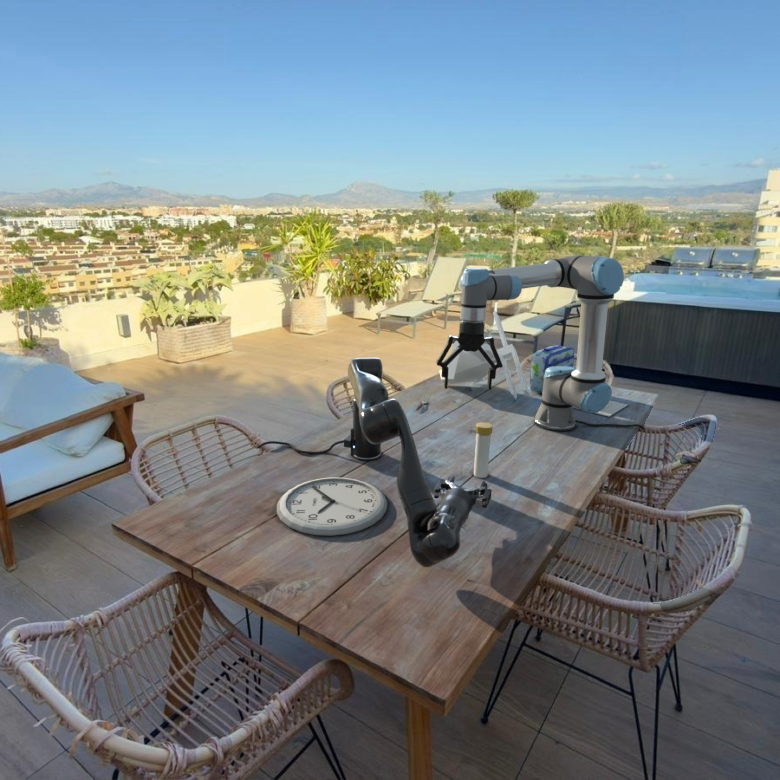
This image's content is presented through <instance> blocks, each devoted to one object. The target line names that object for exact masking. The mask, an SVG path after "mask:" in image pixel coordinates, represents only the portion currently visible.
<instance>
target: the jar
mask: <svg viewBox="0 0 780 780" xmlns="http://www.w3.org/2000/svg"><path fill="white" fill-rule="evenodd" d="M491 435H492V433H491V434H490V435H480V434H477V433H476V434H475V451H474V465H473V475H474V477H475V478H478V479H484V478H487V477H488V474H489V464H490V463H489V462H490V461H489V459H490V449H491V448H490V447H491V437H492V436H491Z"/></svg>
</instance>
